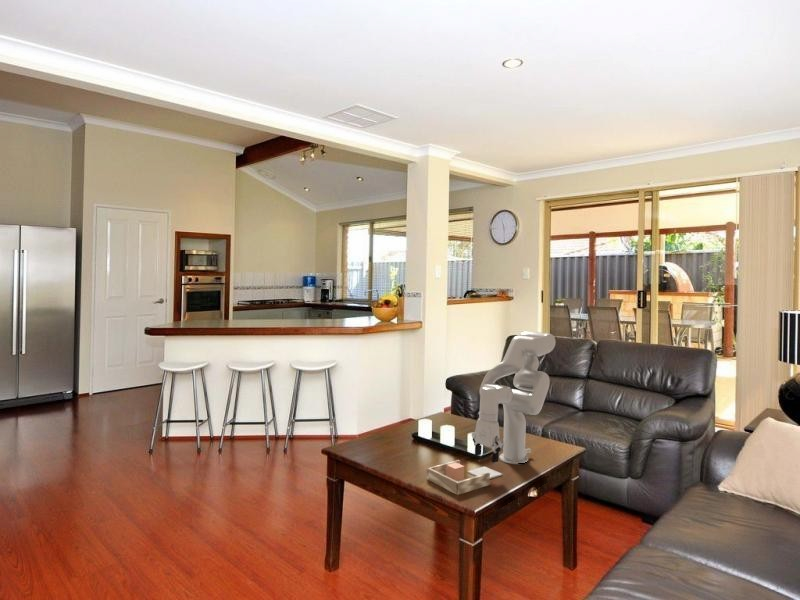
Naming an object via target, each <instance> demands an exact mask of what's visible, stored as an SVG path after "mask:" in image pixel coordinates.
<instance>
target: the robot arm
mask: <svg viewBox="0 0 800 600" xmlns="http://www.w3.org/2000/svg"><path fill="white" fill-rule="evenodd" d="M555 347H556V337H555V336H554V335H553V334H552V333H549V332H548V333H547V332H539V331H522V332H520V333H519V335H516V336H514V337H512V339H511V340H510V343H509V345H508V347H507V349H506V352H505V355H504V357H503V359H502V361H500V363H497V365H495V366H493V367H492V368H491V369H489V371H487V373H486V374H485V376H484V377H483V380H482V381H481V384H480V386H479V411H478V413H477V414H478V415H479V416H478V418H477V421H476V425H475V430H474V432H471V437H472V441H473V446H474V456H475V457H478V456H481V455H482V446H484V447H488V448H491V450H492V453H491V463H498V462H499V460H500V461H501V462H503V463H506V464H510V465H519V464H518V463H525V462H527V461H528V462H529V457H528V456H527V454H530V453H532V449H531V448H530V447H528V448H526V431H527V430H526V429H527V427H526V426H527V423H526V422H527V420H526V417H525V415H524V414H527V415H534V416H536V415H539V413H540V412H541V410H542V408H543V406H544V403H545V401H546V400H545V399H547V398H546V397H547V394H548V391H549V389H550V376H549V374H548V373H546V372H545V371H540V370H538V369H539V367H540V366H539V365H540V361H539V358H538V357H542V356H544V355H547V354H549V353H551V352H553V351H554V349H555ZM514 374H515V375H514ZM510 375H514V376H513V381H512V383H513V386H514V387H515V388H511V387H509V386H507V385H502V384H498V383H496V381H498V380H500V379H501V378H504V377H506V376H507V377H508V376H510ZM516 388H517V389H516ZM499 405H502V406H503V440H501V438H500V426H499V425H500V424H499V421H498V420H499V419H498V418H499ZM502 450H503V451H502ZM501 451H502V453H501V454H500V452H501ZM499 454H500V455H499ZM528 462H527V463H528ZM525 464H526V463H525Z"/></svg>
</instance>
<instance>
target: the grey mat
mask: <svg viewBox="0 0 800 600" xmlns="http://www.w3.org/2000/svg"><path fill="white" fill-rule="evenodd" d="M486 473H490V480H491V479H495V478H498V477H502V476H503V473H501V472H499V471H496V470H494V469H492V468H489V467H487V466H480V467H478V468H474V469H471V470H467V474H469V475H471V476H473V477H475V476H479V475H482V474H486Z"/></svg>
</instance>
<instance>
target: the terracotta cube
mask: <svg viewBox="0 0 800 600" xmlns="http://www.w3.org/2000/svg"><path fill="white" fill-rule="evenodd" d="M465 469H466V467H465V465H462V464H461V463H460V464H458V463H456V462H455V463H452V464H448V465H447V466H446V475H445V476H447V477H449V478H451V479H454V480H456V481H458V482H459V481H462V480H465Z"/></svg>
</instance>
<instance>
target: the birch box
mask: <svg viewBox="0 0 800 600" xmlns="http://www.w3.org/2000/svg"><path fill="white" fill-rule="evenodd" d="M455 462H456V463H458V464H461V459H460V460H459V459H456V460H453V461H449V462H445V463H441V464H438V465H434V466H431V467H427V468H426V480H427V481H429V482H431V483H434V484H435V485H437V486H439V487H441V488H443V489H445V490H447V491H448V492H451V493H453V494H455V495H457V496H459V495H462V494H465V493H469V492H471V491H475V490H478V489H481V488H483V487H488V486H489V485H490V484H491V479H490V473H486V474H482V475H479V476H473V477H469V478H464V480H462V481H459V482H458V481H456V480H454V479H451V478H449V477H447V476H446V466H447V465H448V464H452V463H455Z"/></svg>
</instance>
